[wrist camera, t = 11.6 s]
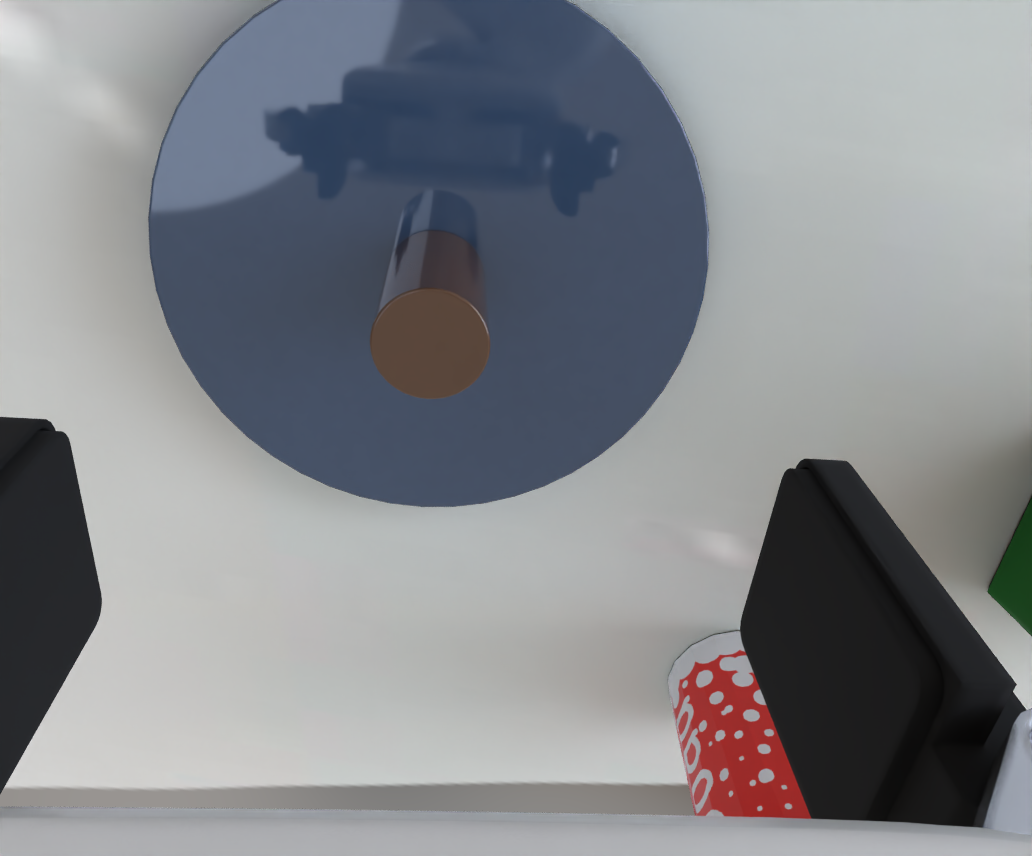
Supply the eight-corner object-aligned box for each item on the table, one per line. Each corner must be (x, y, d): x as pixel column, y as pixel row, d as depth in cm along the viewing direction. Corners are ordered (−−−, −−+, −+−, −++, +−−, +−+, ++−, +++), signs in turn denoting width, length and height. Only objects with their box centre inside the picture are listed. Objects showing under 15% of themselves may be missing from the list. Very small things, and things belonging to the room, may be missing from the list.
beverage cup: (698, 595, 29) (874, 1044, 17) (840, 642, 31) (1096, 1086, 18) (618, 711, 32) (720, 1175, 19) (753, 749, 33) (926, 1203, 21)
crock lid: (131, -76, 19) (8, -96, 14) (753, -1, 20) (853, 5, 15) (186, 473, 25) (118, 596, 20) (647, 498, 27) (690, 619, 22)
